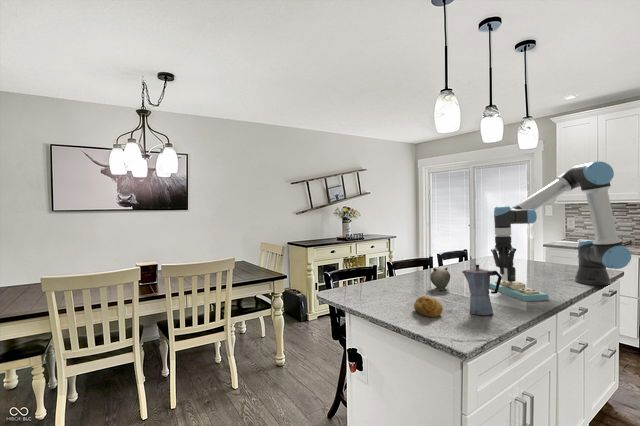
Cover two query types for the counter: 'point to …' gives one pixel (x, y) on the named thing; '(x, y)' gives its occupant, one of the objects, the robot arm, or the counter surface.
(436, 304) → the bread roll
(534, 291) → the key three
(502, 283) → the key one
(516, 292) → the teal puzzle board
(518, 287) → the key two
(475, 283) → the moka pot
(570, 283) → the counter surface
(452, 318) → the counter surface
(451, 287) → the counter surface
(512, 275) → the supplement bottle
